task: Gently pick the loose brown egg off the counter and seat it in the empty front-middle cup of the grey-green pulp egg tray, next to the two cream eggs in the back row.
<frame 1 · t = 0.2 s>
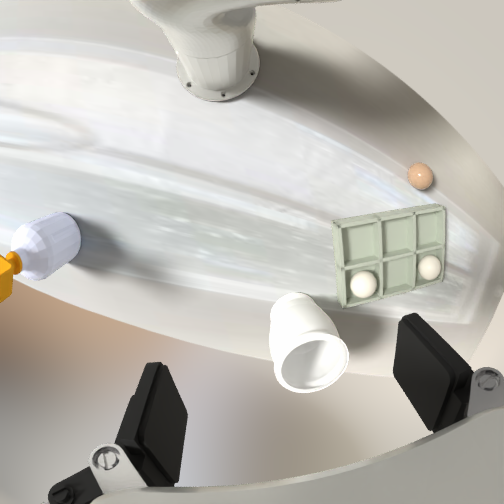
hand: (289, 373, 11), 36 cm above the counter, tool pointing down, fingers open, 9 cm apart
soap bottle: (62, 236, 45), on the counter
jar: (293, 312, 51), on the counter
egg tray: (390, 251, 49), on the counter
cream egg a: (358, 279, 49), point 1 cm above the counter, touching egg tray
cream egg b: (423, 263, 49), point 1 cm above the counter, touching egg tray
brown egg: (413, 174, 45), on the counter
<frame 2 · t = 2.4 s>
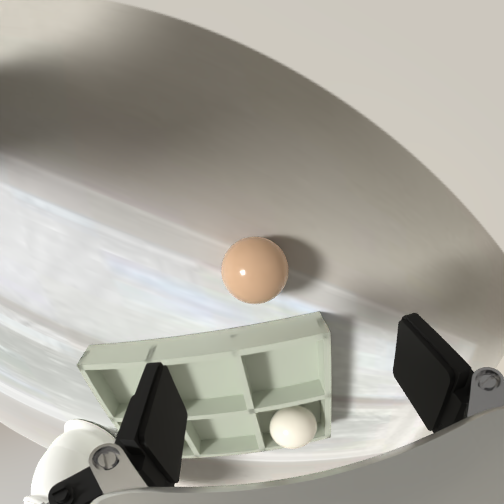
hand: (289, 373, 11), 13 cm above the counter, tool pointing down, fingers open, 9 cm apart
jar: (93, 436, 29), on the counter
egg tray: (213, 392, 26), on the counter
cream egg b: (289, 410, 27), point 1 cm above the counter, touching egg tray
brown egg: (252, 259, 22), on the counter
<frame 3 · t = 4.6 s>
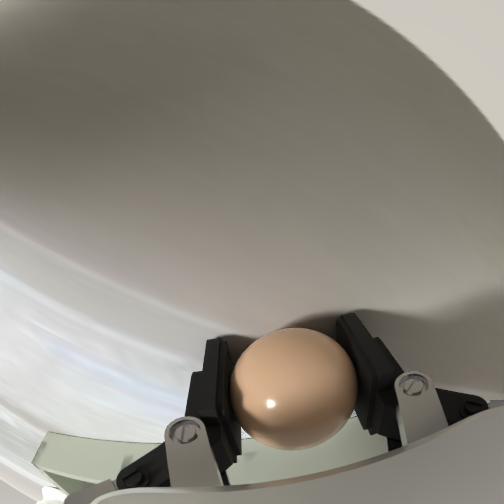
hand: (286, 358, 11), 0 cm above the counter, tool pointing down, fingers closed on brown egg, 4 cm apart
jar: (76, 502, 18), on the counter
egg tray: (219, 493, 16), on the counter
brown egg: (284, 353, 12), on the counter, touching gripper
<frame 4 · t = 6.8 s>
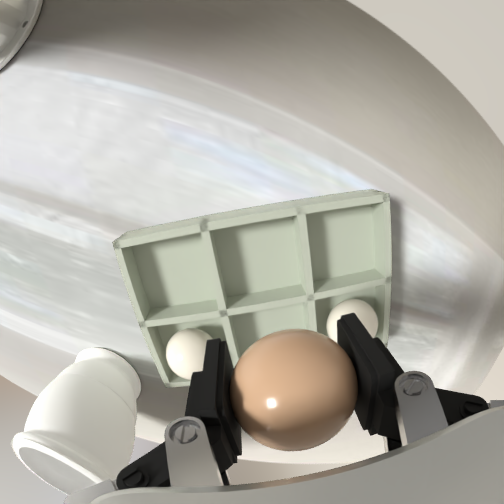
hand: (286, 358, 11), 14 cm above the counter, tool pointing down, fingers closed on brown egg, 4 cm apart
jar: (108, 374, 29), on the counter
egg tray: (263, 288, 26), on the counter
cream egg a: (195, 339, 26), point 1 cm above the counter, touching egg tray
cream egg b: (343, 312, 26), point 1 cm above the counter, touching egg tray
brown egg: (284, 353, 12), point 14 cm above the counter, touching gripper
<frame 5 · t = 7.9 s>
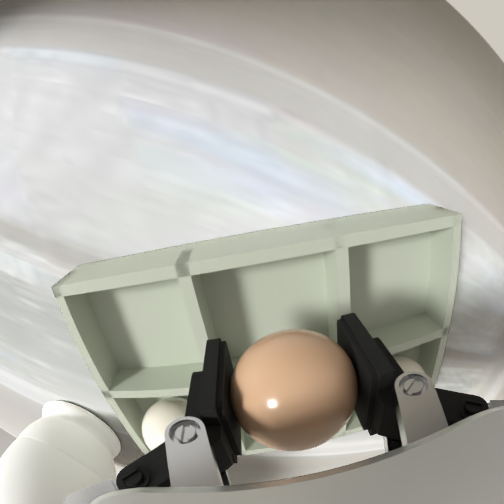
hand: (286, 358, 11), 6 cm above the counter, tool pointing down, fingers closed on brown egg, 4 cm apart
jar: (82, 427, 20), on the counter
egg tray: (274, 345, 18), on the counter
cream egg a: (181, 406, 18), point 1 cm above the counter, touching egg tray
cream egg b: (380, 368, 18), point 1 cm above the counter, touching egg tray
brown egg: (285, 354, 12), point 5 cm above the counter, touching gripper
when the fingers open (4 cm above the counter, at t = 9.0 s): brown egg drops 2 cm, resting on egg tray.
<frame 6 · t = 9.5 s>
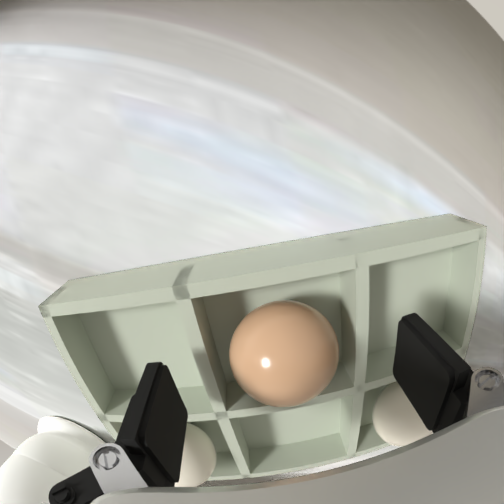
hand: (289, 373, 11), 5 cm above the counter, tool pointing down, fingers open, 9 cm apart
jar: (79, 443, 19), on the counter
egg tray: (283, 366, 16), on the counter
cream egg a: (182, 428, 16), point 1 cm above the counter, touching egg tray
cream egg b: (394, 388, 16), point 1 cm above the counter, touching egg tray
brown egg: (277, 326, 14), point 1 cm above the counter, touching egg tray
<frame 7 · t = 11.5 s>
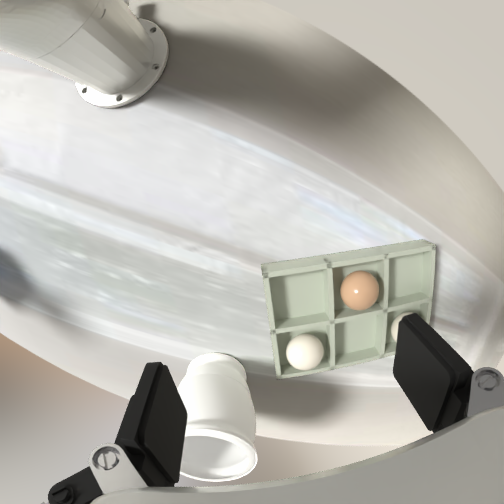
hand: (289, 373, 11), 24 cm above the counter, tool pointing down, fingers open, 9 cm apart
jar: (216, 374, 39), on the counter
egg tray: (351, 305, 36), on the counter
cream egg a: (301, 342, 36), point 1 cm above the counter, touching egg tray
cream egg b: (399, 321, 36), point 1 cm above the counter, touching egg tray
brown egg: (353, 283, 34), point 1 cm above the counter, touching egg tray
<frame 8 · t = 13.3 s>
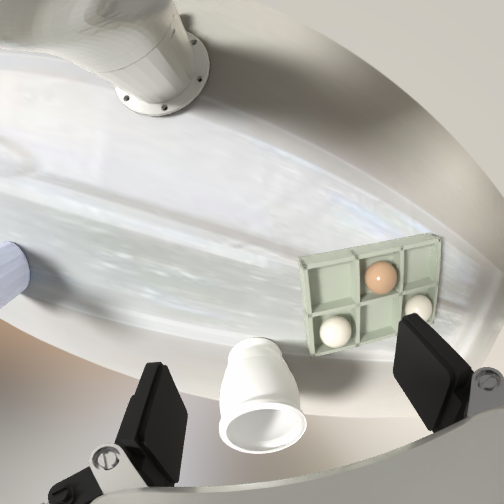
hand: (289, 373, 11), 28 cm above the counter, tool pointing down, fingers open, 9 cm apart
soap bottle: (13, 266, 37), on the counter
jar: (255, 357, 44), on the counter
egg tray: (371, 290, 41), on the counter
cream egg a: (331, 323, 42), point 1 cm above the counter, touching egg tray
cream egg b: (411, 302, 42), point 1 cm above the counter, touching egg tray
brown egg: (374, 271, 39), point 1 cm above the counter, touching egg tray
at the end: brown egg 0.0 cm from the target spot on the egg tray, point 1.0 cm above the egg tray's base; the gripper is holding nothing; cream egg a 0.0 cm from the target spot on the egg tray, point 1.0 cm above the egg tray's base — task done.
